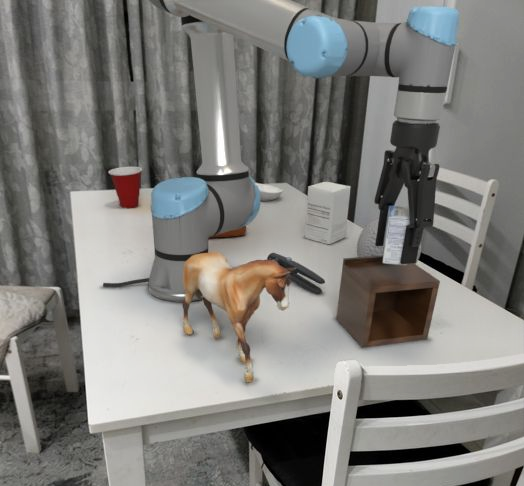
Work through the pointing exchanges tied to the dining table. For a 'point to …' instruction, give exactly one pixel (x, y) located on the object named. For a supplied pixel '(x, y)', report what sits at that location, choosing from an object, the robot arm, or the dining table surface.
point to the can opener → (299, 269)
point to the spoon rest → (268, 192)
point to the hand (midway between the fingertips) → (394, 253)
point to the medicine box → (395, 234)
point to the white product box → (327, 212)
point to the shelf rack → (385, 301)
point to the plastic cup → (127, 185)
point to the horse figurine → (233, 292)
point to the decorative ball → (372, 241)
